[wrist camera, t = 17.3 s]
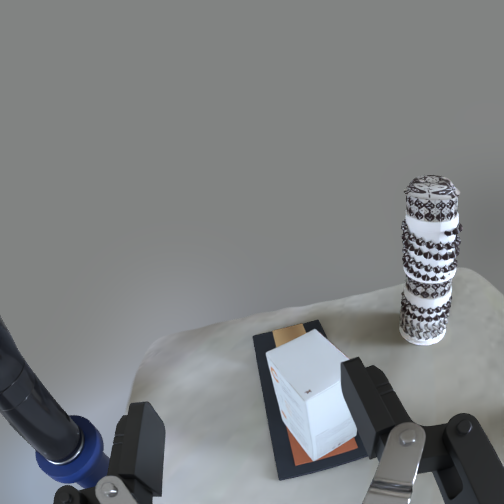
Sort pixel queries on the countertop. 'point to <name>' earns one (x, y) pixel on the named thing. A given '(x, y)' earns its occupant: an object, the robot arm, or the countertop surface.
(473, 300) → the countertop surface
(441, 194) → the decorative candle
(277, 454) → the word mat
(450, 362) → the countertop surface
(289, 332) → the letter block
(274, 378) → the small box
